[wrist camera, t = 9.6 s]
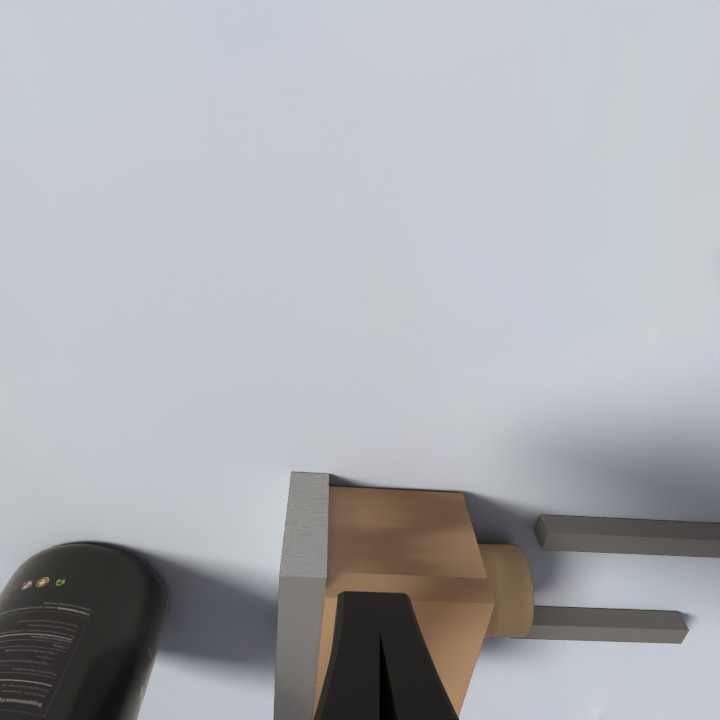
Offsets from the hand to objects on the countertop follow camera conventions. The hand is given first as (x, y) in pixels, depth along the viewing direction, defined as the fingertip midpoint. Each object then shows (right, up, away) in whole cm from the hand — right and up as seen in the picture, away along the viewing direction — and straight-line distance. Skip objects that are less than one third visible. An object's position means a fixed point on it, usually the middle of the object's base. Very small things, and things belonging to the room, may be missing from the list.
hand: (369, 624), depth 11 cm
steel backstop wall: (-3, -4, +13) cm, 14 cm away
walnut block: (+1, -4, +13) cm, 14 cm away
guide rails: (+11, -5, +14) cm, 19 cm away
